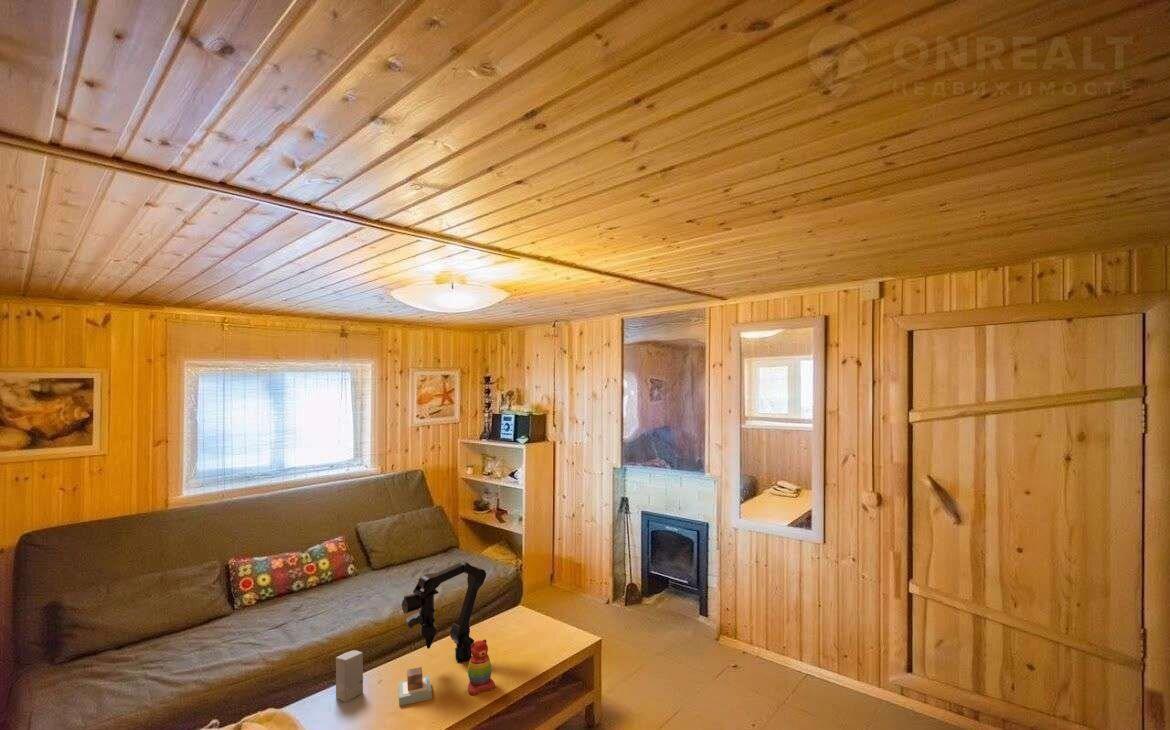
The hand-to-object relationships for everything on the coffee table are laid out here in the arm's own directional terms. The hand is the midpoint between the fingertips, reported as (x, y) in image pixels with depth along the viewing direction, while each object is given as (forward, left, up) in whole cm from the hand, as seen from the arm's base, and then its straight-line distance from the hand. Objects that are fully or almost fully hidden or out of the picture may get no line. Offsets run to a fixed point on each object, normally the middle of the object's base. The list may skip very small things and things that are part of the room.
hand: (427, 643), depth 225 cm
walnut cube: (+6, +14, -9) cm, 18 cm away
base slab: (+6, +14, -12) cm, 20 cm away
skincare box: (+30, +4, -13) cm, 33 cm away
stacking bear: (-19, +19, -13) cm, 30 cm away
